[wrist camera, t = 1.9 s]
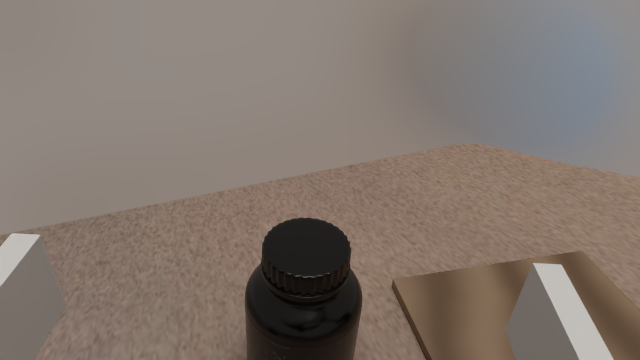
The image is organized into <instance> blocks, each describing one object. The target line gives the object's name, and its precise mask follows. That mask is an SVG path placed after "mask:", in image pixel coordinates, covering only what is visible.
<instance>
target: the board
mask: <svg viewBox="0 0 640 360" xmlns="http://www.w3.org/2000/svg"><path fill="white" fill-rule="evenodd" d="M533 263H543V264H561V265H562V266H563V268H564V270H565V272H566V274H567V275H568V277H569V279H570V281H571V283H572V285H573V286H574V288H575V290H576V292H577V294H578V295H579V297H580V299H581V301H582V303H583V305H584V306H585V308H586V310H587V312H588V314H589V316H590V317H591V319H592V321H593V323H594V325H595V326H596V328H597V330H598V332H599V334H600V336H601V337H602V339H603V341H604V343H605V345H606V346H607V348H608V350H609V352H610V354H611V356H612V357H613V359H614V360H640V309H639V308H638V307H637V306H636V305H635V304H634V303H633V302H632V301H631V300H630V299H629V298H628V297H627V296H626V295H625V294H624V293H623V292H622V291H621V290H620V289H619V288H618V287H617V286H616V285H615V284H614V283H613V282H612V281H611V280H610V279H609V278H608V277H607V276H606V275H605V274H604V273H603V272H602V271H601V270H600V269H599V268H598V267H597V266H596V265H595V264H594V263H593V262H592V261H591V260H590V259H589V258H588V257H587V256H586V255H585V254H584V252H583V251H578V252H571V253H564V254H558V255H551V256H544V257H538V258H531V259H525V260H518V261H511V262H505V263H498V264H491V265H485V266H478V267H472V268H465V269H458V270H452V271H445V272H438V273H432V274H425V275H419V276H412V277H405V278H399V279H393V282H392V288H393V290H394V292H395V294H396V296H397V298H398V300H399V302H400V304H401V307H402V309H403V311H404V313H405V315H406V317H407V319H408V321H409V323H410V325H411V328H412V330H413V332H414V334H415V336H416V338H417V340H418V342H419V344H420V346H421V349H422V351H423V353H424V355H425V357H426V359H427V360H516V359H515V356H514V353H513V350H512V348H511V345H510V342H509V339H508V336H507V334H506V331H505V329H506V327H507V324H508V322H509V319H510V317H511V315H512V312H513V310H514V307H515V305H516V303H517V300H518V298H519V295H520V293H521V290H522V288H523V286H524V283H525V281H526V278H527V276H528V274H529V271H530V269H531V266H532V264H533Z"/></svg>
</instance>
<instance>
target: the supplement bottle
mask: <svg viewBox="0 0 640 360" xmlns="http://www.w3.org/2000/svg"><path fill="white" fill-rule="evenodd" d="M350 256H351V248H350V242H349V241H348V240H347V236H345V235H344V233H343V231H341V230H339V228H338V227H336V226H334V225H333V224H331V223H327V222H326V221H323V220H319V219H312V218H298V219H291V220H287V221H284V222H283V223H279V224H278V225H277V226H275V227H273V228H272V230H271V231H269V232H268V235H267V236H265V238H264V242H263V244H262V260H261V264H260V265H259V266H258V267H257V268H256V269H255V270H254V272H253V273H252V275H251V277H250V278H249V281H248V283H247V287H246V292H245V315H246V338H247V360H353V357H354V351H355V345H356V339H357V333H358V327H359V321H360V315H361V308H362V291H361V287H360V284H359V281H358V279H357V277H356V275H355V274H354V272H353V271H352V270H351V268H350Z"/></svg>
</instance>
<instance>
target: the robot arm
mask: <svg viewBox="0 0 640 360" xmlns="http://www.w3.org/2000/svg"><path fill="white" fill-rule="evenodd" d="M65 307H66V303H65V300H64V297H63V294H62V292H61V289H60V286H59V284H58V281H57V278H56V275H55V273H54V270H53V267H52V265H51V262H50V259H49V256H48V254H47V251H46V248H45V246H44V243H43V240H42V237H41V235H31V234H14V233H12V234H11V235H10V236H9V237H8V238H7V240H6V241H5V242H4V243H3V244H2V245H1V247H0V360H34V359H35V357H36V355H37V354H38V352H39V350H40V349H41V347H42V345H43V344H44V342H45V340H46V339H47V337H48V335H49V334H50V332H51V330H52V329H53V327H54V325H55V324H56V322H57V320H58V319H59V317H60V315H61V314H62V312H63V310H64V309H65ZM505 331H506V334H507V336H508V339H509V342H510V345H511V348H512V350H513V353H514V356H515V359H516V360H614V359H613V357H612V356H611V354H610V352H609V350H608V348H607V346H606V345H605V343H604V341H603V339H602V337H601V336H600V334H599V332H598V330H597V328H596V326H595V325H594V323H593V321H592V319H591V317H590V316H589V314H588V312H587V310H586V308H585V306H584V305H583V303H582V301H581V299H580V297H579V295H578V294H577V292H576V290H575V288H574V286H573V285H572V283H571V281H570V279H569V277H568V275H567V274H566V272H565V270H564V268H563V266H562V265H561V264H543V263H533V264H532V266H531V269H530V271H529V274H528V276H527V278H526V281H525V283H524V286H523V288H522V290H521V293H520V295H519V298H518V300H517V303H516V305H515V307H514V310H513V312H512V315H511V317H510V319H509V322H508V324H507V327H506V329H505Z"/></svg>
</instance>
